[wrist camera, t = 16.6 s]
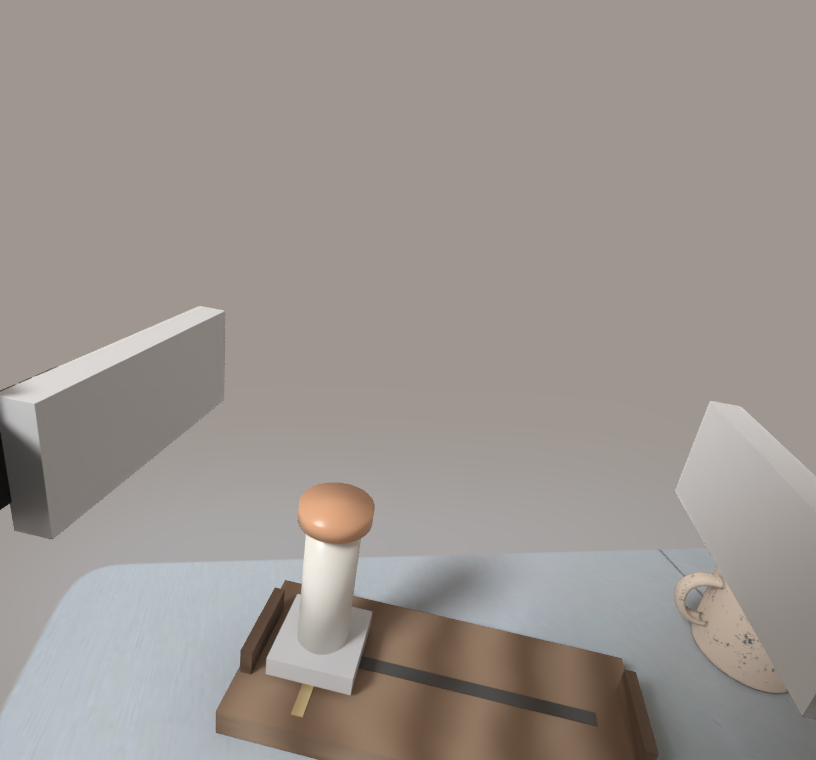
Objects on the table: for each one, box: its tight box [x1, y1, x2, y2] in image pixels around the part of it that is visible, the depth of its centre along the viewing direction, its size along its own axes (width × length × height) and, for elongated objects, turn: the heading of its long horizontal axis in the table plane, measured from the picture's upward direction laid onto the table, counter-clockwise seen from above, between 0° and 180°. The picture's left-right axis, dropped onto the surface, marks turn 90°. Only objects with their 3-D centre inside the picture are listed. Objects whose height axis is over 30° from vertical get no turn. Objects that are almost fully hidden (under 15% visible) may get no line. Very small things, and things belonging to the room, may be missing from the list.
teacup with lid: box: [674, 566, 788, 693], centre depth 46 cm, size 12×9×12 cm
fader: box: [266, 483, 374, 695], centre depth 37 cm, size 6×6×13 cm
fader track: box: [216, 580, 658, 760], centre depth 38 cm, size 28×12×4 cm, turn 81°
